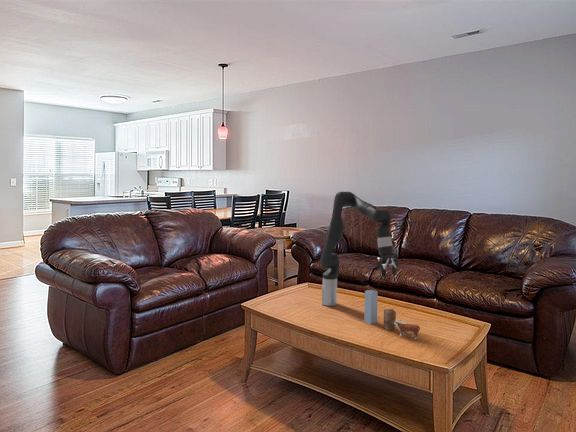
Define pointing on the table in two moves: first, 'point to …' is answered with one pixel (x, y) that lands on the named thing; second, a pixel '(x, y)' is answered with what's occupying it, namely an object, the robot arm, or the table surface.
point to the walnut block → (389, 319)
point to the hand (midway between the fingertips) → (389, 276)
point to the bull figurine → (407, 328)
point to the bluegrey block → (370, 306)
